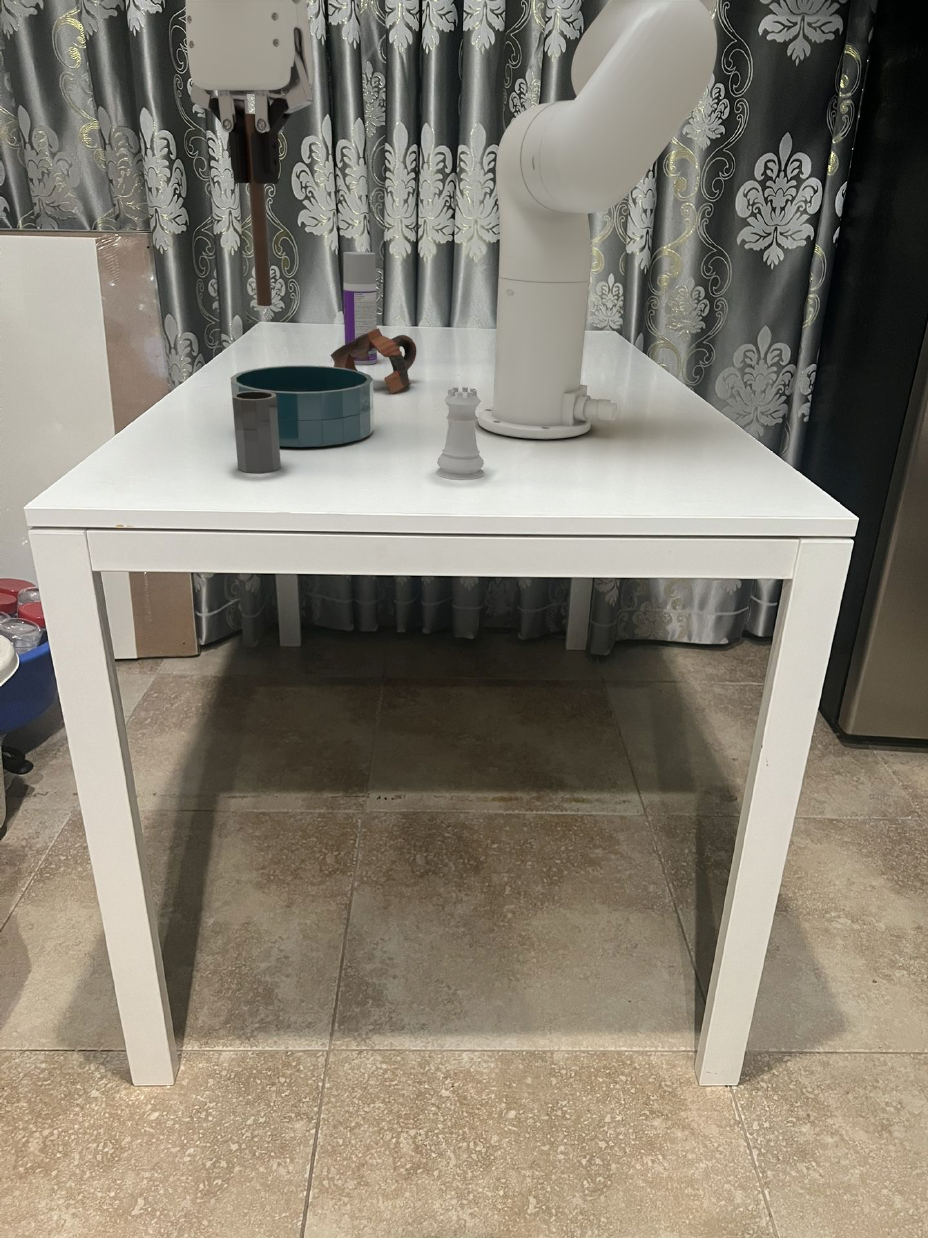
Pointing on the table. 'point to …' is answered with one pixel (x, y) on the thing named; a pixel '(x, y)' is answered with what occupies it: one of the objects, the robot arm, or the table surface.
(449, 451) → the rook chess piece
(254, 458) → the utensil cup
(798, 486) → the table surface
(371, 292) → the container
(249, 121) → the stick
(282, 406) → the bowl
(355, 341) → the brown twisted loop sculpture
